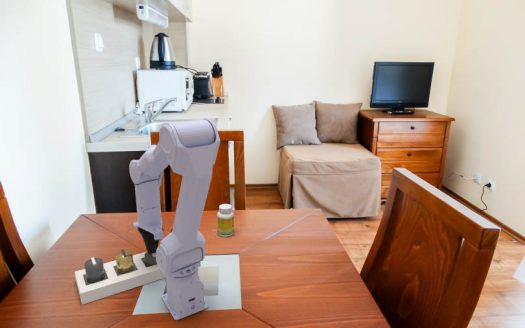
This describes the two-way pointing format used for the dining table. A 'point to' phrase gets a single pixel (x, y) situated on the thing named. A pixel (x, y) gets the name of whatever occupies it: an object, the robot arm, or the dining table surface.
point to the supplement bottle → (225, 220)
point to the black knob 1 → (94, 270)
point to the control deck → (117, 279)
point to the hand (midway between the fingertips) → (152, 252)
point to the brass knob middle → (124, 261)
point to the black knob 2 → (150, 259)
